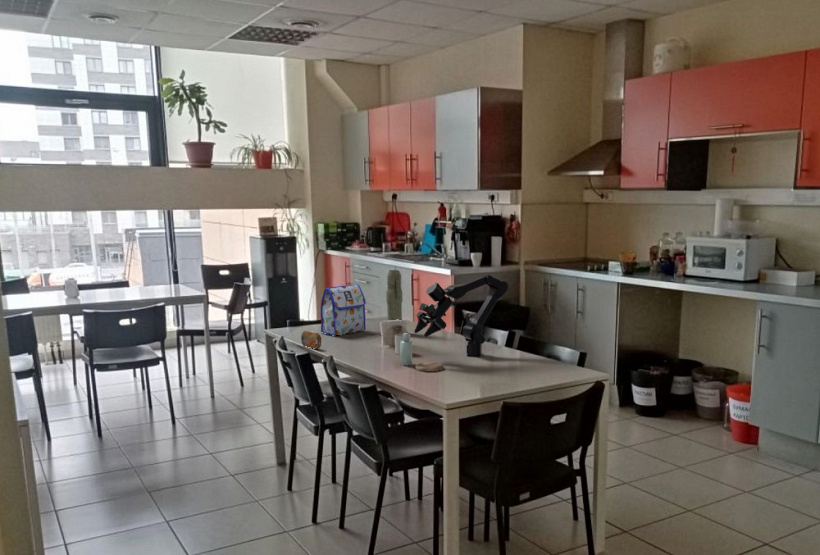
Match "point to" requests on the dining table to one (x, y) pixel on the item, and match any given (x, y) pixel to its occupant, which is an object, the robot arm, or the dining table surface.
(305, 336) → the tin
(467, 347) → the robot arm
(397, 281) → the thermos
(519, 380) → the dining table surface
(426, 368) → the tan flat disc
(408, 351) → the ceramic bottle
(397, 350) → the cup
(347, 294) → the lunch bag
